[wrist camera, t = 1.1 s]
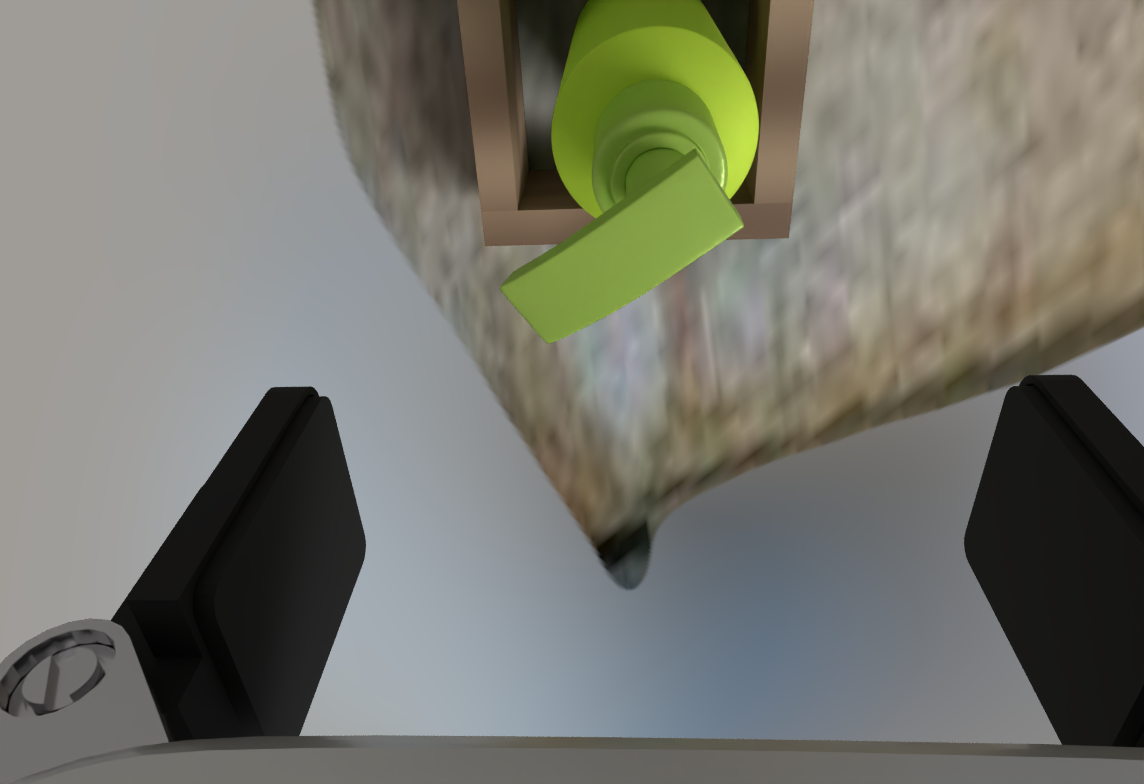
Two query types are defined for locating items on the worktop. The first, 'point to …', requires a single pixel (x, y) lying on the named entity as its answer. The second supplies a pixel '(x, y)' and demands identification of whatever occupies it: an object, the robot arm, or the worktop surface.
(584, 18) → the soap dispenser
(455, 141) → the worktop surface
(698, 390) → the worktop surface
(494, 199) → the walnut stand
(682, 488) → the worktop surface
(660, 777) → the robot arm
